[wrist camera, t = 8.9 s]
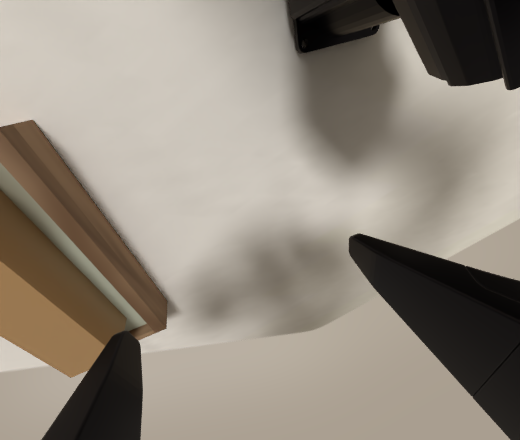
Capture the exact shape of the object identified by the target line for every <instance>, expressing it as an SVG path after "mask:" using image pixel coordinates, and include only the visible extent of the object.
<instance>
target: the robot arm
mask: <svg viewBox="0 0 520 440" xmlns="http://www.w3.org/2000/svg"><path fill="white" fill-rule="evenodd" d="M289 8H290V16H291V17H292V18H293V22H294V33H295V43H296V49H297V51H298V52H299V53H307V52H310V51H314V50H318V49H322V48H326V47H329V46H333V45H337V44H341V43H344V42H348V41H352V40H356V39H360V38H363V37H367V36H371V35H374V34H376V32H377V31H378V29H379V25H380V24H382V23H386V22H389V21H392V20H395V19H399V18H401V19H402V21H403V23H404V25H405V27H406V29H407V31H408V33H409V36H410V38H411V40H412V42H413V44H414V46H415V48H416V50H417V52H418V54H419V56H420V58H421V60H422V62H423V64H424V66H425V68H426V70H427V72H428V74H429V75H432V76H434V77H436V78H439V79H441V80H446V81H447V83H448V85H450V86H469V85H474V84H479V83H484V82H489V81H493V80H497V79H500V78H503V79H504V83H505V86H506V89H507V90H514V89H516V88H519V87H520V0H289ZM371 27H373V28H372V30H371ZM303 40H304V41H305V43H306V46H305V48H303V47H302V41H303ZM349 254H350V256H351V257H352V259H353V260H354V262H355V263H356V264H357V266H358V267H359V268H360V270H361V271H362V273H363V274H364V275H365V277H366V278H367V279H368V281H369V282H370V283H371V285H372V286H373V287H374V288H375V289H376V291H377V292H378V293H379V294H380V295H381V296H382V297H383V298H384V299H385V301H386V302H387V303H388V304H389V305H390V306H391V307H392V308H393V310H394V311H395V312H396V313H397V314H398V315H399V316H400V317H401V318H402V319H403V321H404V322H405V323H406V324H407V325H408V326H409V327H410V328H411V329H412V331H413V332H414V333H415V334H416V335H417V336H418V337H419V338H420V339H421V341H422V342H423V343H424V344H425V345H426V346H427V347H428V348H429V349H430V351H431V352H432V353H433V354H434V355H435V356H436V357H437V358H438V359H439V360H440V362H441V363H442V364H443V365H444V366H445V367H446V368H447V369H448V371H449V372H450V373H451V374H452V375H453V376H454V377H455V378H456V379H457V380H458V382H459V383H460V384H461V385H462V386H463V387H464V388H465V389H466V390H467V392H468V393H469V394H470V395H471V396H473V399H474V400H475V401H476V402H477V403H478V404H479V405H480V406H481V407H482V408H483V410H485V412H486V413H487V414H488V415H489V416H490V417H491V418H492V420H493V421H494V422H495V423H496V424H497V425H498V426H499V427H500V428H501V430H503V432H504V433H505V434H506V435H507V436H508V437H509V438H510V440H520V281H518V280H514V279H510V278H506V277H503V276H499V275H496V274H492V273H489V272H485V271H482V270H478V269H475V268H472V267H468V266H466V267H465V266H464V265H462V264H458V263H455V262H452V261H449V260H445V259H442V258H439V257H436V256H432V255H429V254H426V253H422V252H419V251H416V250H413V249H409V248H406V247H403V246H399V245H396V244H393V243H390V242H386V241H383V240H380V239H376V238H373V237H370V236H367V235H363V234H355V235H353V236H351V237H350V238H349ZM142 396H143V386H142V366H141V348H140V343H139V341H138V340H137V339H136V338H135V337H134V336H133V335H132V334H131V333H130V332H129V331H127V330H124V331H121V332H119V333H116V334H114V335H113V336H112V337H111V338H110V340H109V341H108V343H107V344H106V346H105V347H104V349H103V350H102V352H101V353H100V355H99V356H98V358H97V359H96V360H95V362H94V363H93V365H92V366H91V368H90V369H89V371H88V372H87V374H86V375H85V377H84V378H83V380H82V381H81V383H80V384H79V385H78V387H77V388H76V390H75V391H74V393H73V394H72V396H71V397H70V399H69V400H68V402H67V403H66V405H65V406H64V408H63V409H62V411H61V412H60V413H59V415H58V416H57V418H56V420H55V421H54V422H53V424H52V425H51V427H50V428H49V430H48V431H47V433H46V434H45V435H44V437H43V438H42V440H140V436H141V417H142V398H143V397H142Z"/></svg>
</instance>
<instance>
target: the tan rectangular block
mask: <svg viewBox="0 0 520 440" xmlns="http://www.w3.org/2000/svg"><path fill="white" fill-rule="evenodd" d="M126 320H127V318H126V317H125V316H124V315H123V314H122V313H121V312H120V311H119V310H118V309H117V308H116V307H115V306H114V305H113V304H112V303H111V302H110V301H109V300H108V299H107V298H106V297H105V295H104V294H103V293H102V292H101V291H100V290H99V289H98V288H97V287H96V286H95V285H94V284H93V283H92V282H91V281H90V280H89V279H88V278H87V277H86V276H85V275H84V274H83V273H82V272H81V271H80V270H79V269H78V268H77V267H76V266H75V265H74V264H73V263H72V262H71V261H70V260H69V259H68V258H67V257H66V256H65V255H64V254H63V253H62V252H61V251H60V250H59V249H58V248H57V247H56V246H55V245H54V244H53V243H52V242H51V240H50V239H49V238H48V237H47V236H46V235H45V234H44V233H43V232H42V231H41V230H40V229H39V228H38V227H37V226H36V225H35V224H34V223H33V222H32V221H31V220H30V219H29V218H28V217H27V216H26V215H25V214H24V213H23V212H22V211H21V210H20V209H19V208H18V207H17V206H16V205H15V204H14V203H13V202H12V201H11V200H10V199H9V198H8V197H7V196H6V195H5V194H4V193H3V192H2V191H1V190H0V336H1V337H3V338H5V339H6V340H8V341H10V342H11V343H13V344H15V345H17V346H18V347H20V348H22V349H23V350H25V351H27V352H28V353H30V354H32V355H33V356H35V357H37V358H38V359H40V360H42V361H43V362H45V363H47V364H49V365H50V366H52V367H54V368H55V369H57V370H59V371H60V372H62V373H64V374H66V375H67V376H69V377H70V378H71V377H74V376H76V375H78V374H80V373H83V372H85V371H88V370H89V369H90V368H91V366H92V365H93V363H94V362H95V360H96V359H97V358H98V356H99V355H100V353H101V352H102V350H103V349H104V347H105V346H106V344H107V343H108V341H109V340H110V338H111V337H112V336H113V335H114V334H116V333H119V332H121V331H124V330H125V325H126Z"/></svg>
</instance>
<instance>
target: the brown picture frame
mask: <svg viewBox="0 0 520 440" xmlns="http://www.w3.org/2000/svg"><path fill="white" fill-rule="evenodd" d="M0 190H1V191H2V192H3V193H4V194H5V195H6V196H7V197H8V198H9V199H10V200H11V201H12V202H13V203H14V204H15V205H16V206H17V207H18V208H19V209H20V210H21V211H22V212H23V213H24V214H25V215H26V216H27V217H28V218H29V219H30V220H31V221H32V222H33V223H34V224H35V225H36V226H37V227H38V228H39V229H40V230H41V231H42V232H43V233H44V234H45V235H46V236H47V237H48V238H49V239H50V240H51V242H52V243H53V244H54V245H55V246H56V247H57V248H58V249H59V250H60V251H61V252H62V253H63V254H64V255H65V256H66V257H67V258H68V259H69V260H70V261H71V262H72V263H73V264H74V265H75V266H76V267H77V268H78V269H79V270H80V271H81V272H82V273H83V274H84V275H85V276H86V277H87V278H88V279H89V280H90V281H91V282H92V283H93V284H94V285H95V286H96V287H97V288H98V289H99V290H100V291H101V292H102V293H103V294H104V295H105V297H106V298H107V299H108V300H109V301H110V302H111V303H112V304H113V305H114V306H115V307H116V308H117V309H118V310H119V311H120V312H121V313H122V314H123V315H124V316H125V317H126V318H127V320H126V325H125V330H127V331H129V332H130V333H131V334H132V335H133V336H134V337H135V338H136V339H137V340H140V339H143V338H145V337H147V336H150V335H152V334H154V333H157V332H159V331H161V330H164V329H166V324H167V300H166V299H165V298H164V296H163V295H162V294H161V292H160V291H159V290H158V288H157V287H156V285H155V284H154V283H153V281H152V280H151V279H150V277H149V276H148V275H147V273H146V272H145V271H144V269H143V268H142V267H141V265H140V264H139V263H138V261H137V260H136V259H135V257H134V256H133V255H132V253H131V252H130V250H129V249H128V248H127V246H126V245H125V244H124V242H123V241H122V240H121V238H120V237H119V236H118V234H117V233H116V232H115V230H114V229H113V228H112V226H111V225H110V224H109V222H108V221H107V219H106V218H105V217H104V215H103V214H102V213H101V211H100V210H99V209H98V207H97V206H96V205H95V203H94V202H93V201H92V199H91V198H90V197H89V195H88V194H87V193H86V191H85V190H84V188H83V187H82V186H81V184H80V183H79V182H78V180H77V179H76V178H75V176H74V175H73V174H72V172H71V171H70V170H69V168H68V167H67V166H66V164H65V163H64V162H63V160H62V159H61V158H60V156H59V155H58V153H57V152H56V151H55V149H54V148H53V147H52V145H51V144H50V143H49V141H48V140H47V139H46V137H45V136H44V135H43V133H42V132H41V131H40V129H39V128H38V127H37V125H36V124H35V122H34V121H33V120H29V121H25V122H21V123H16V124H12V125H7V126H3V127H0Z"/></svg>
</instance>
